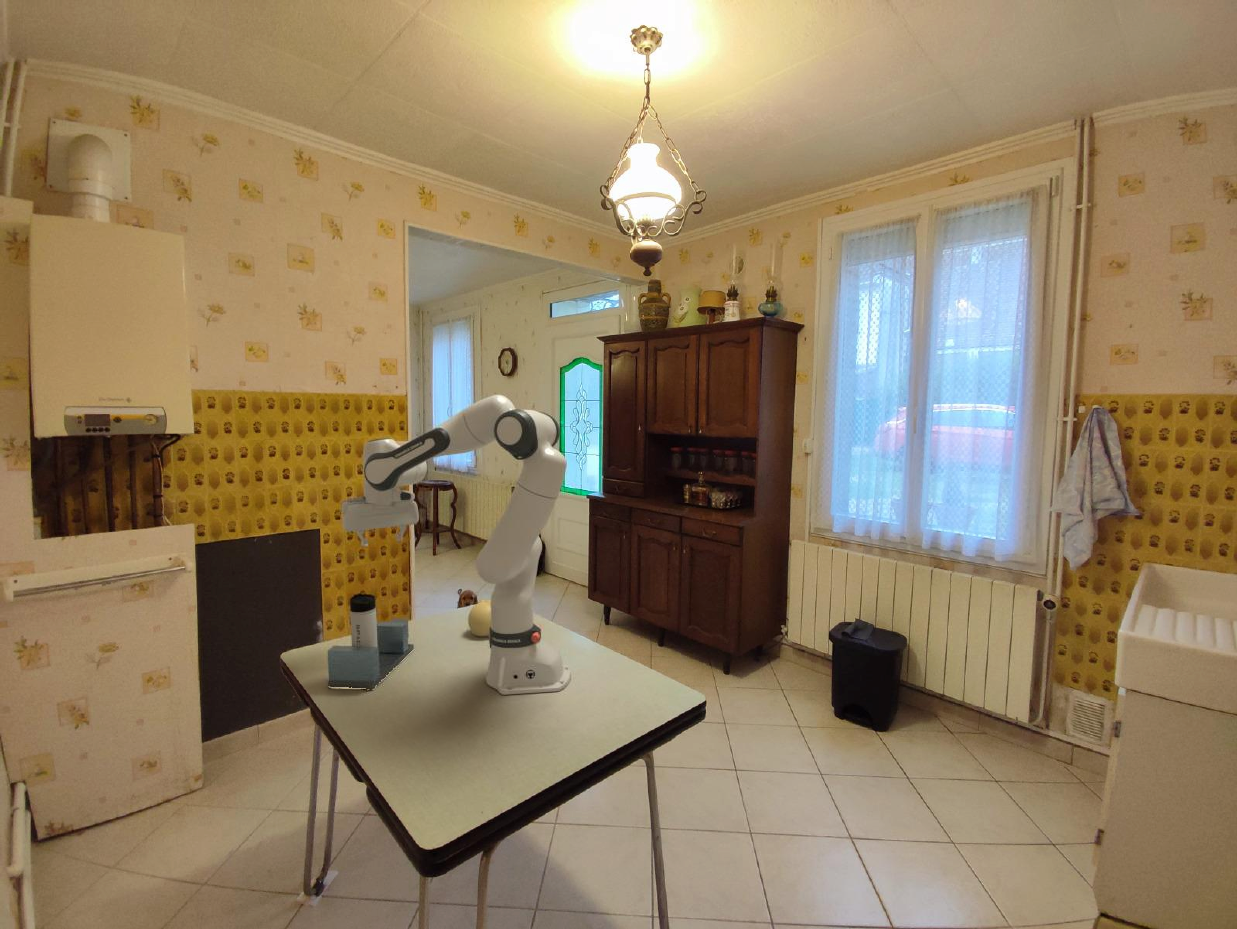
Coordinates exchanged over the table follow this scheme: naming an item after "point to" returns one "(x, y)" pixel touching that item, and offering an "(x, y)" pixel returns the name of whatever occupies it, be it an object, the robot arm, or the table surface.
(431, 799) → the table surface
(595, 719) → the table surface
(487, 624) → the sculpture
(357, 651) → the vise
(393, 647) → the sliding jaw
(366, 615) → the travel mug
